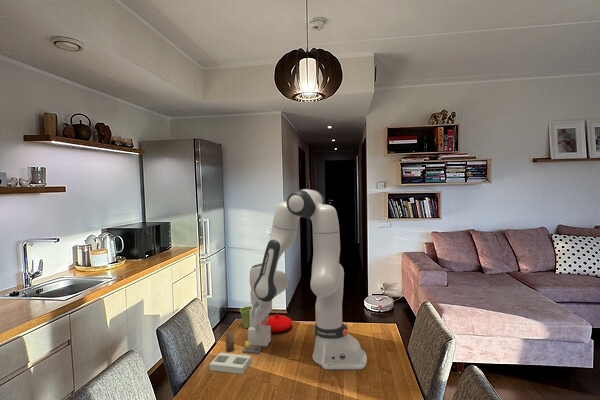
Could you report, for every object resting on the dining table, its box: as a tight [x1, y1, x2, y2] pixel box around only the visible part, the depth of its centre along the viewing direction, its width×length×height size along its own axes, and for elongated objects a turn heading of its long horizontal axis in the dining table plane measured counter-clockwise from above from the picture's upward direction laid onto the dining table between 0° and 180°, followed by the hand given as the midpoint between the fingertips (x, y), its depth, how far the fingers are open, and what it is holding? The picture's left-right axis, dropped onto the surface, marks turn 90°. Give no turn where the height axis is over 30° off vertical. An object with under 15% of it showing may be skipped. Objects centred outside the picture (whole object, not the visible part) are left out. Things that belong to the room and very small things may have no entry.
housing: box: [247, 324, 272, 347], centre depth 149 cm, size 9×6×7 cm, turn 77°
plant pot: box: [239, 305, 253, 329], centre depth 167 cm, size 9×9×9 cm
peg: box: [225, 329, 235, 353], centre depth 142 cm, size 4×4×8 cm
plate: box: [241, 340, 263, 355], centre depth 141 cm, size 7×4×4 cm, turn 77°
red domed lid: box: [260, 313, 293, 333], centre depth 163 cm, size 16×16×7 cm
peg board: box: [208, 352, 252, 375], centre depth 129 cm, size 14×9×2 cm, turn 77°
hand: (262, 328), depth 148 cm, fingers open, 8 cm apart
